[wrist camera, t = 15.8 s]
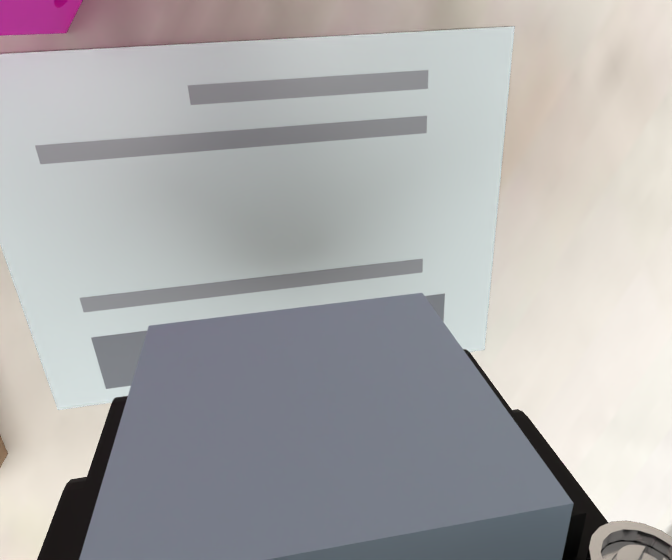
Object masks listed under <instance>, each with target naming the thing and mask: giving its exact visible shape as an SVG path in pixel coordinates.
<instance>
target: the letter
mask: <svg viewBox="0 0 672 560" xmlns="http://www.w3.org/2000/svg"><path fill="white" fill-rule="evenodd" d="M514 29H515V26H511V27H493V28H474V29H455V30H437V31H418V32H399V33H380V34H362V35H343V36H324V37H306V38H287V39H268V40H250V41H231V42H212V43H194V44H175V45H156V46H137V47H119V48H100V49H81V50H63V51H44V52H25V53H7V54H0V245H1V248H2V251H3V254H4V257H5V260H6V263H7V265H8V268H9V271H10V274H11V277H12V280H13V283H14V285H15V288H16V291H17V294H18V297H19V300H20V303H21V306H22V308H23V311H24V314H25V317H26V320H27V323H28V326H29V328H30V331H31V334H32V337H33V340H34V343H35V346H36V349H37V351H38V354H39V357H40V360H41V363H42V366H43V369H44V372H45V374H46V377H47V380H48V383H49V386H50V389H51V392H52V394H53V397H54V400H55V403H56V406H57V409H58V410H62V409H70V408H77V407H84V406H91V405H98V404H105V403H112V401H113V399H114V398H116V397H123V396H128V394H129V390H130V387H131V384H132V380H133V377H134V374H135V370H136V367H137V364H138V360H139V357H140V353H141V350H142V347H143V343H144V340H145V337H146V333H147V330H148V327H149V326H150V325H158V324H167V323H175V322H183V321H191V320H200V319H208V318H216V317H225V316H233V315H241V314H249V313H258V312H266V311H274V310H283V309H291V308H299V307H307V306H316V305H324V304H332V303H341V302H349V301H357V300H365V299H374V298H382V297H390V296H399V295H407V294H415V293H423V294H424V296H425V297H426V298H427V300H428V301H429V303H430V304H431V305H432V307H433V308H434V310H435V311H436V312H437V314H438V315H439V317H440V318H441V319H442V321H443V322H444V324H445V325H446V326H447V328H448V329H449V330H450V332H451V333H452V335H453V336H454V337H455V339H456V340H457V342H458V343H459V344H460V346H461V347H462V349H466V350H468V351H469V352H473V351H480V350H485V340H486V329H487V318H488V308H489V297H490V286H491V275H492V265H493V254H494V243H495V232H496V222H497V211H498V200H499V190H500V179H501V168H502V157H503V147H504V136H505V125H506V115H507V104H508V93H509V82H510V72H511V61H512V50H513V39H514Z"/></svg>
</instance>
